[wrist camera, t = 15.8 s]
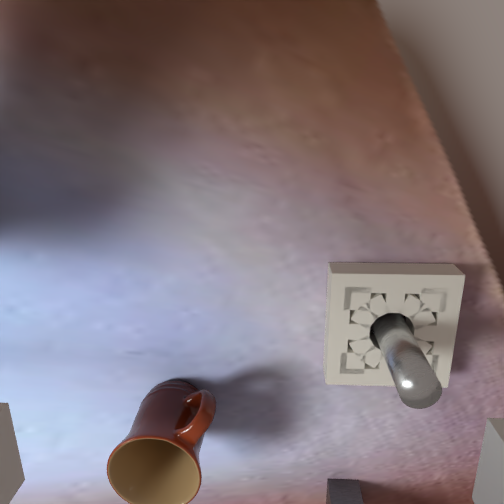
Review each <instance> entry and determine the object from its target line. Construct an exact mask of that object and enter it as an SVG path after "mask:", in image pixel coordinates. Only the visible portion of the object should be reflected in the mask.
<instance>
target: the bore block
mask: <svg viewBox="0 0 504 504" xmlns="http://www.w3.org/2000/svg"><path fill="white" fill-rule="evenodd" d="M464 281H465V275H464V274H463V273H462V272H461V271H460V270H459V269H458V268H457V267H456V266H455V265H454V264H423V263H343V262H328V281H327V301H326V320H325V340H324V359H323V370H324V376H325V382H326V384H332V385H368V386H395V383H394V381H393V379H392V376H391V374H390V371H389V369H388V366H387V364H386V361H385V359H384V356H383V354H382V352H381V349H380V347H379V344H378V342H377V339H376V337H375V335H374V334H372V333H371V332H370V327H371V325H372V324H373V323H374V321H375V320H376V319H377V318H378V317H380V316H382V315H384V314H387V313H401V314H403V315H404V316H406V321H405V322H406V324H407V325H408V327H409V329H410V331H411V332H412V334H413V336H414V338H415V339H416V341H417V343H418V345H419V346H420V348H421V350H422V352H423V353H424V355H425V357H426V359H427V360H428V362H429V364H430V366H431V367H432V369H433V371H434V373H435V374H436V376H437V378H438V380H439V381H440V383H441V386H442V388H448V382H449V376H450V369H451V363H452V357H453V350H454V344H455V338H456V331H457V325H458V319H459V312H460V306H461V300H462V294H463V287H464Z"/></svg>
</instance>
